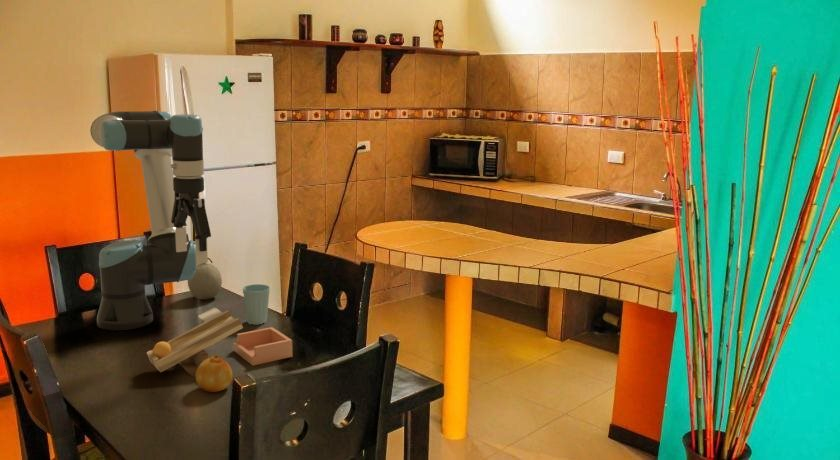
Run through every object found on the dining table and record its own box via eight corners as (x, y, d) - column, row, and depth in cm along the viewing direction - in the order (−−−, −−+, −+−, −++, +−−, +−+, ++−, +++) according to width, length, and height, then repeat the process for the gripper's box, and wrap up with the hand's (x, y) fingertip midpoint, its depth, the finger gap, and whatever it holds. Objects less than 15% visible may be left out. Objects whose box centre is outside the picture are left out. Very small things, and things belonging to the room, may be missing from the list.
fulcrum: (175, 360, 187) (174, 342, 186) (202, 355, 191) (202, 337, 190) (191, 376, 178) (191, 357, 177) (220, 370, 182) (219, 351, 181)
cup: (273, 324, 216) (272, 289, 214) (246, 327, 213) (245, 292, 210) (267, 316, 222) (266, 283, 220) (241, 319, 219) (240, 285, 217)
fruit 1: (228, 294, 244) (227, 249, 241) (213, 304, 233) (211, 258, 230) (199, 291, 246) (197, 247, 243) (182, 301, 235) (180, 256, 232)
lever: (139, 350, 188) (135, 340, 187) (217, 310, 199) (213, 299, 198) (160, 372, 175) (155, 361, 174) (243, 327, 185) (238, 317, 184)
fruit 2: (244, 374, 173) (226, 346, 172) (228, 391, 166) (208, 361, 165) (218, 387, 176) (200, 359, 175) (201, 404, 169) (182, 375, 168)
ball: (152, 357, 179) (149, 342, 178) (169, 352, 182) (166, 337, 180) (157, 362, 176) (154, 347, 175) (174, 357, 178) (171, 342, 177)
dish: (233, 350, 194) (233, 334, 194) (272, 342, 201) (272, 327, 200) (252, 365, 185) (252, 348, 184) (292, 356, 191) (292, 340, 190)
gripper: (156, 170, 195) (160, 248, 200) (193, 184, 176) (196, 270, 181) (184, 168, 200) (187, 245, 205) (223, 182, 181) (225, 266, 186)
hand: (191, 257), depth 193 cm, fingers open, 13 cm apart
